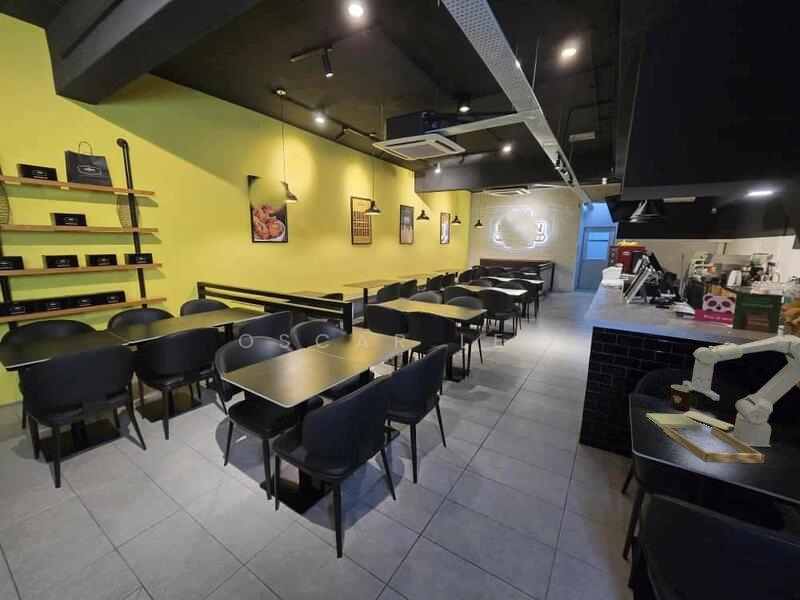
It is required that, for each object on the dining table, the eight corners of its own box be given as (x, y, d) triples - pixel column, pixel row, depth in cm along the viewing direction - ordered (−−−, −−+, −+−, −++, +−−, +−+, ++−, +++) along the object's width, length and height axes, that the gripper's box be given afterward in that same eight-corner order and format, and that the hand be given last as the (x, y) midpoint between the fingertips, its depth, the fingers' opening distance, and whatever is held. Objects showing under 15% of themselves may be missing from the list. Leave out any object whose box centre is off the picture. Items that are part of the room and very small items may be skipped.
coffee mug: (697, 413, 149) (700, 392, 148) (678, 412, 149) (681, 392, 148) (676, 401, 161) (679, 382, 159) (658, 401, 161) (661, 382, 160)
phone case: (679, 417, 147) (726, 434, 133) (679, 413, 147) (727, 430, 132) (689, 413, 151) (736, 429, 136) (690, 409, 150) (737, 425, 136)
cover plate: (682, 419, 144) (683, 414, 144) (700, 430, 136) (701, 424, 135) (645, 418, 145) (646, 413, 145) (661, 429, 136) (661, 423, 136)
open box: (713, 433, 133) (714, 426, 132) (763, 463, 114) (764, 455, 113) (663, 432, 133) (664, 425, 133) (705, 461, 114) (706, 453, 114)
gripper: (677, 370, 139) (673, 400, 141) (708, 384, 124) (703, 417, 126) (694, 371, 138) (689, 401, 140) (727, 384, 124) (721, 418, 126)
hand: (697, 409), depth 133 cm, fingers closed
